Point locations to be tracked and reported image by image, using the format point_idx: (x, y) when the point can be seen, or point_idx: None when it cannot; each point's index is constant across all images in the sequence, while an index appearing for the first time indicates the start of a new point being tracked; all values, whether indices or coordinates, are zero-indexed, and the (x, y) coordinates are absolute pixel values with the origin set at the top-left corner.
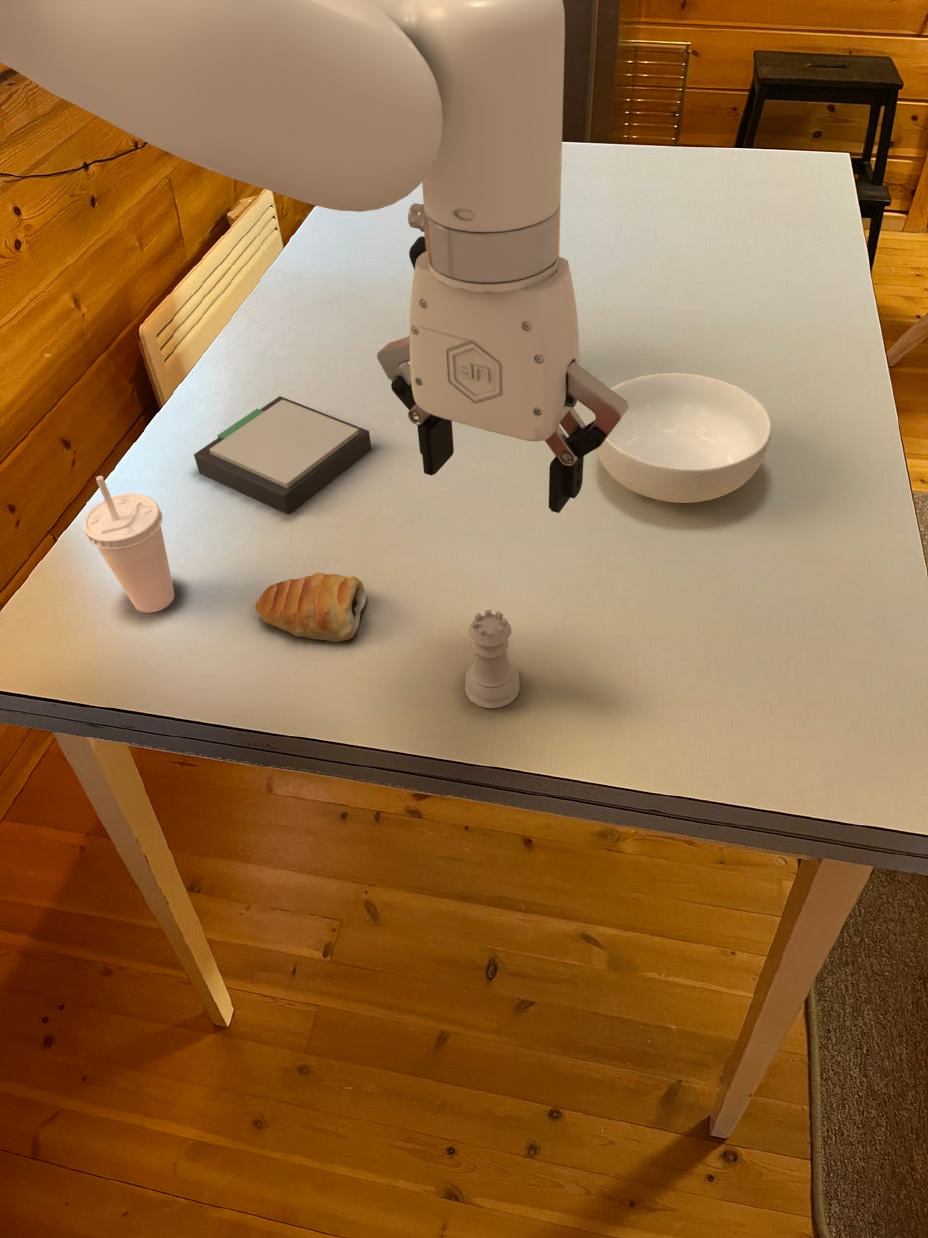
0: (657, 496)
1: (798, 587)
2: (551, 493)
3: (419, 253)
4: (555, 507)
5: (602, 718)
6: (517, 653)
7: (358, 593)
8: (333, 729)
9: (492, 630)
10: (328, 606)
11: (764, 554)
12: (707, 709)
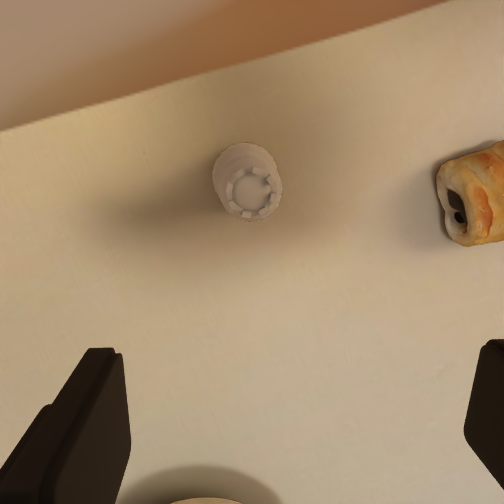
0: (190, 502)
1: None
2: (87, 385)
3: None
4: (91, 356)
5: (112, 194)
6: (244, 239)
7: (460, 229)
8: (394, 30)
9: (241, 182)
10: (491, 175)
11: None
12: (18, 257)
